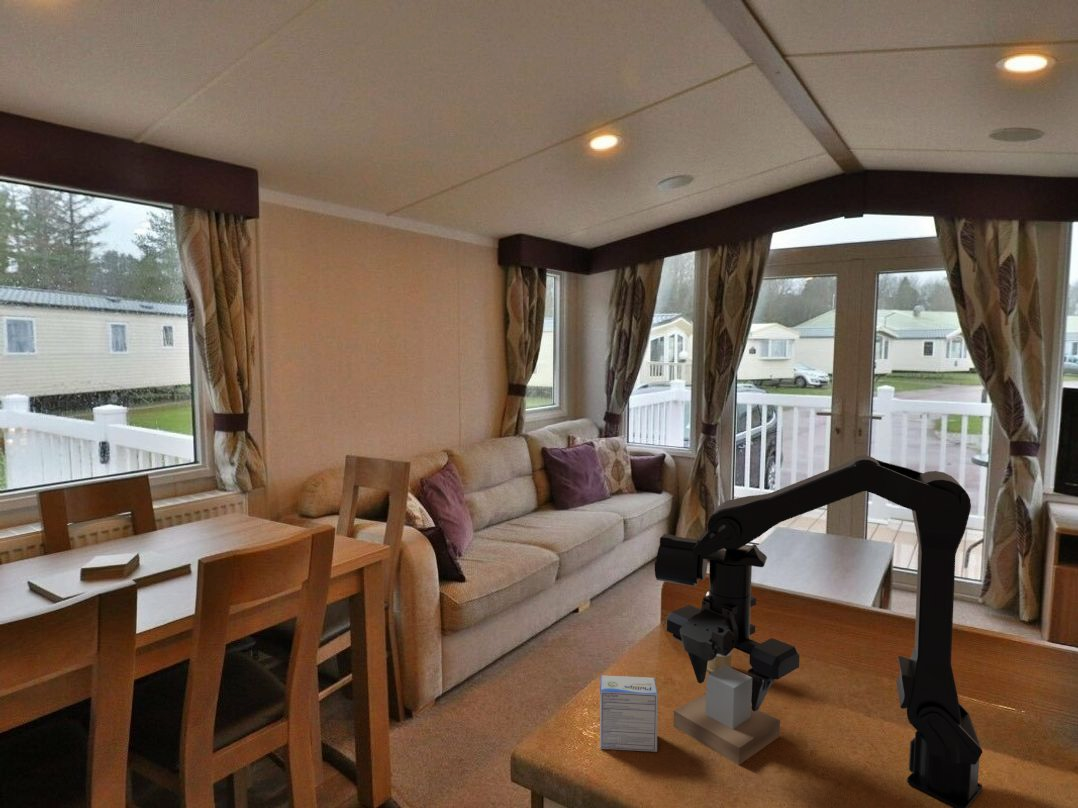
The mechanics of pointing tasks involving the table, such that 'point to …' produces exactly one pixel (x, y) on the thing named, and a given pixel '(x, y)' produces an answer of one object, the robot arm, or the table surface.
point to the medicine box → (628, 713)
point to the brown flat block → (727, 731)
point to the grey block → (728, 696)
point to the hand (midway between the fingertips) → (727, 695)
